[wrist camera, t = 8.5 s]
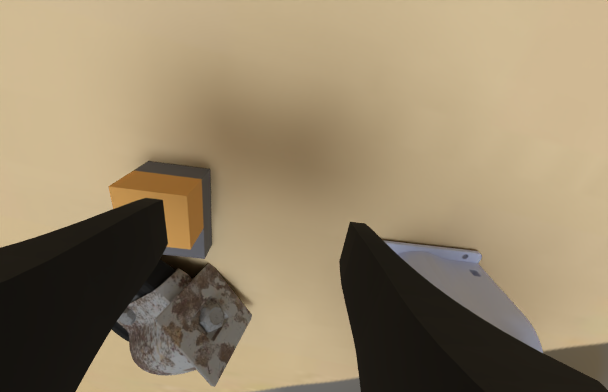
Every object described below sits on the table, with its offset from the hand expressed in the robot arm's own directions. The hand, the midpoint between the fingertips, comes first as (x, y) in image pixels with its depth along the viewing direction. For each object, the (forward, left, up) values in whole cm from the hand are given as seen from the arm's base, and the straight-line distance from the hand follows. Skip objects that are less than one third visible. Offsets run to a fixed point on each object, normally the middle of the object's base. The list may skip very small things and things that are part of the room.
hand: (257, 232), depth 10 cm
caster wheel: (+8, +15, -10) cm, 19 cm away
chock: (+7, +5, -10) cm, 13 cm away
